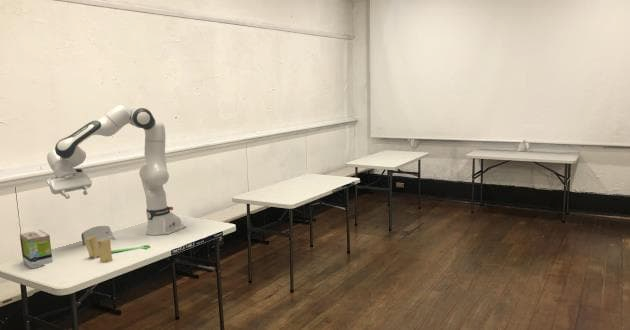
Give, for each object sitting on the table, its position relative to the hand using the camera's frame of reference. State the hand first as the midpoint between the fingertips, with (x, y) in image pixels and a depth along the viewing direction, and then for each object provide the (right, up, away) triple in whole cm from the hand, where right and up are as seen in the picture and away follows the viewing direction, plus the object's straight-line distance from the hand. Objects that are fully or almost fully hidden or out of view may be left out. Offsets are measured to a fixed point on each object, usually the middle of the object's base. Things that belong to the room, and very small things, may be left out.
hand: (77, 196), depth 261 cm
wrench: (+25, -28, -1) cm, 38 cm away
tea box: (-14, -33, -10) cm, 37 cm away
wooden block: (+13, -29, -8) cm, 33 cm away
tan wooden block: (+21, -30, -15) cm, 40 cm away
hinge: (+3, -27, +19) cm, 33 cm away
